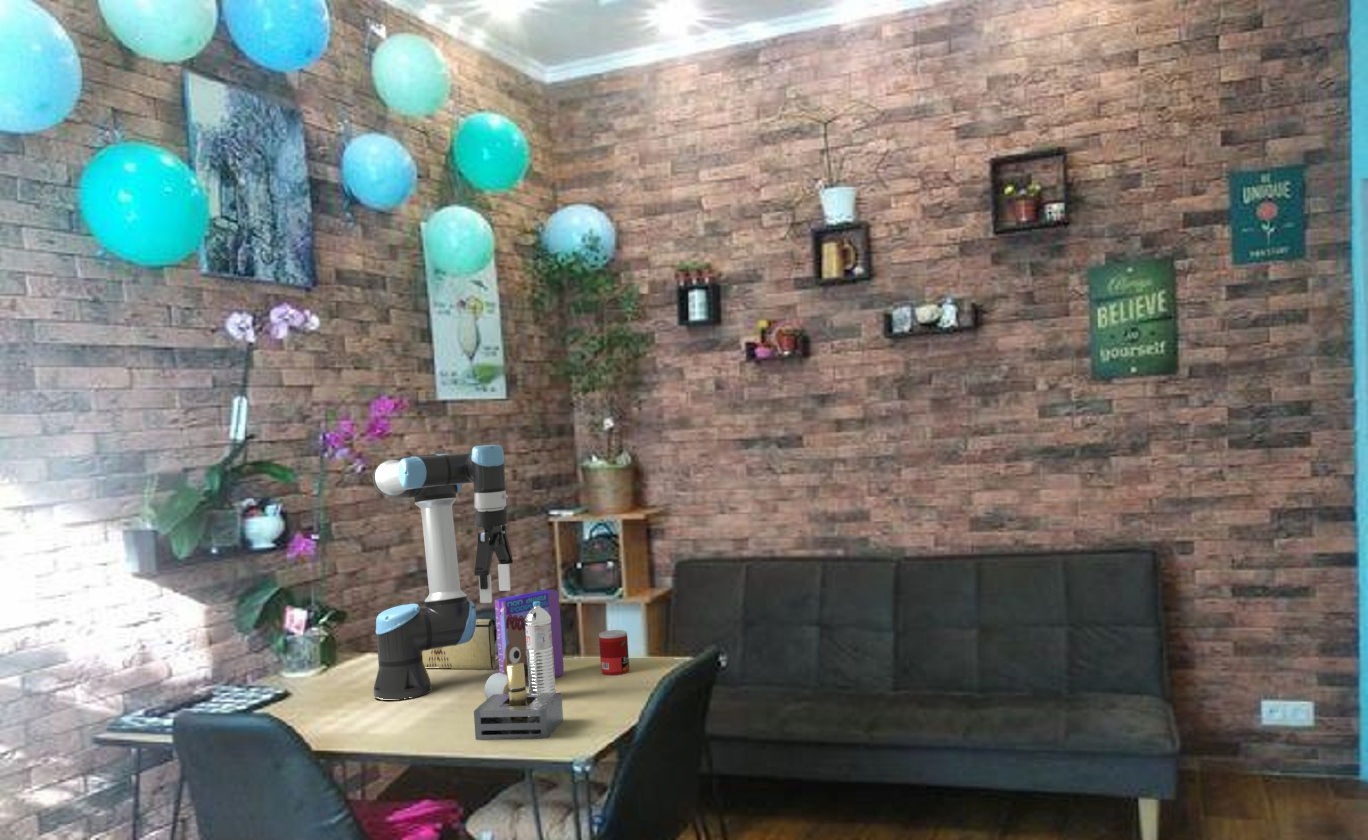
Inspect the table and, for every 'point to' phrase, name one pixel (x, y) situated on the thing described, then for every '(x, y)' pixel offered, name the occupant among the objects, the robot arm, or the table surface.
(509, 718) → the collar stand
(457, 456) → the robot arm
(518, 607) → the cereal box
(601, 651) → the canned food
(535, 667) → the water bottle
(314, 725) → the table surface
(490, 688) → the ceramic mug
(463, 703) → the table surface
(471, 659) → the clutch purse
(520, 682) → the gold domed cylinder
